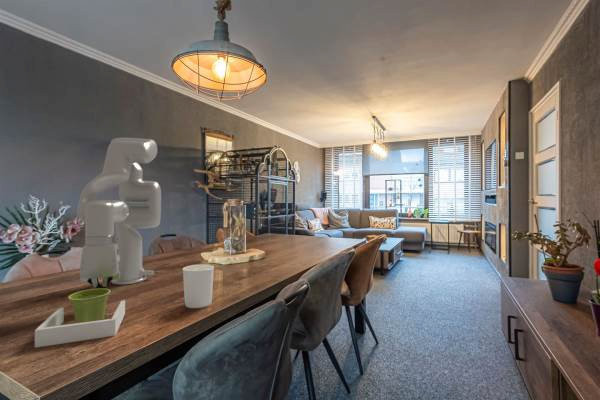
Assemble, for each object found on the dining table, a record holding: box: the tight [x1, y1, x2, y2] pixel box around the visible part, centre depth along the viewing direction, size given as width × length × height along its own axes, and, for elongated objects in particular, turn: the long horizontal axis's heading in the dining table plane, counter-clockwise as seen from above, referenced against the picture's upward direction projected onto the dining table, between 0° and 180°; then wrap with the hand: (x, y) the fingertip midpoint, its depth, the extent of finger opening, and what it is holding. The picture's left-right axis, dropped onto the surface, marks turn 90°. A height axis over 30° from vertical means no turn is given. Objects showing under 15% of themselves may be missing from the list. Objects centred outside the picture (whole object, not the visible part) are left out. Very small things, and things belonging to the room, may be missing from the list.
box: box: [34, 299, 126, 348], centre depth 78 cm, size 16×16×4 cm
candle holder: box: [182, 263, 215, 309], centre depth 97 cm, size 10×10×12 cm
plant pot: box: [67, 288, 111, 324], centre depth 81 cm, size 9×9×9 cm
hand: (100, 298), depth 94 cm, fingers closed
